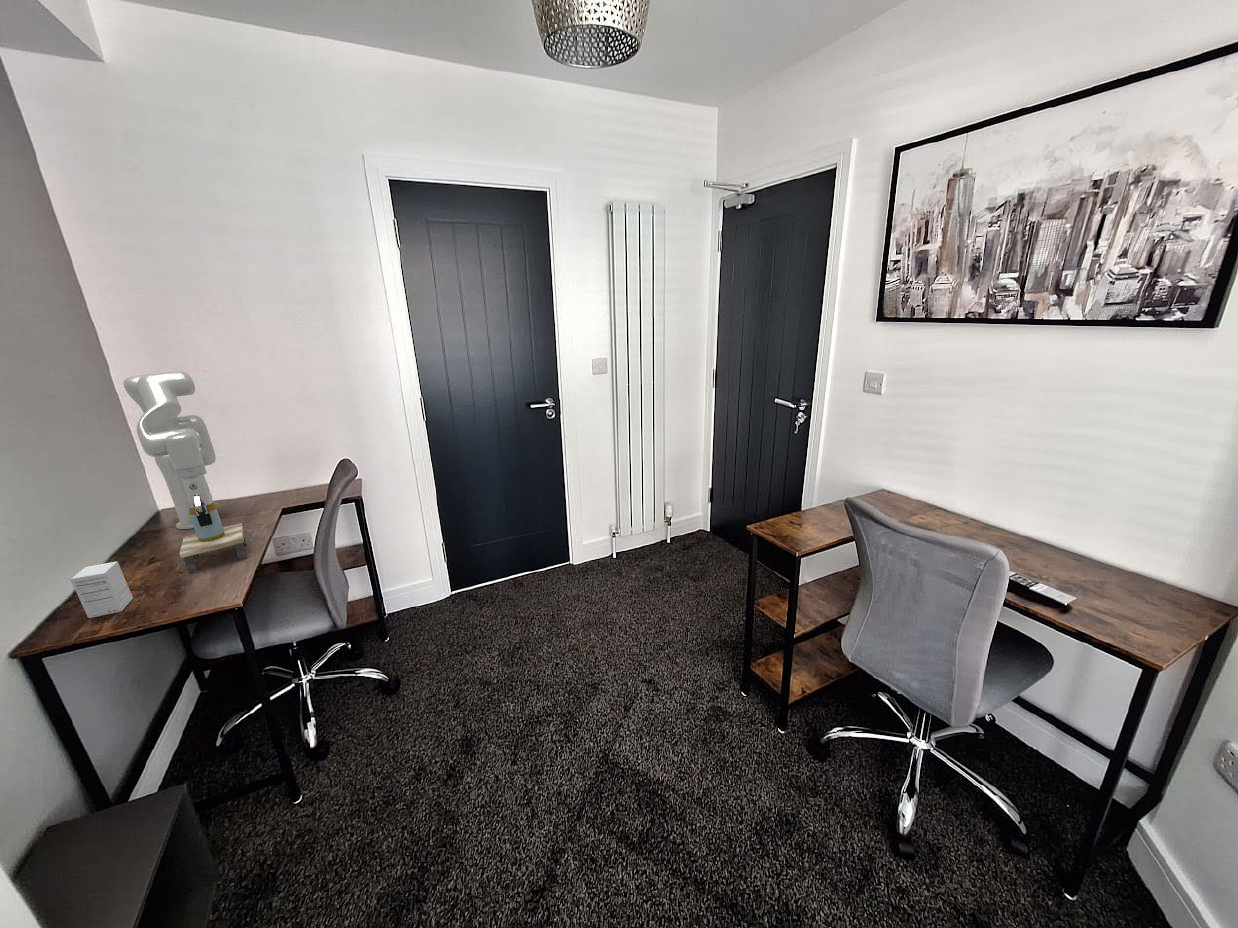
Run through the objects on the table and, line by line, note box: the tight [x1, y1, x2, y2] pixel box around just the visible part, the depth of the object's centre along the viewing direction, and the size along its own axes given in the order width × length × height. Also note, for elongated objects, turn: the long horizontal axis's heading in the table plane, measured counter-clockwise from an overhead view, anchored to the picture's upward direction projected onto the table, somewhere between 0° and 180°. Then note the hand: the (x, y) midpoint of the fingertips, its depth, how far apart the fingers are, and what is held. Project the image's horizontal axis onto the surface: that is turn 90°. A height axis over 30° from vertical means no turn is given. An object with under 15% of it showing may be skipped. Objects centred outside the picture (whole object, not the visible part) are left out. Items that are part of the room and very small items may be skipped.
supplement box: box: [70, 561, 134, 619], centre depth 136 cm, size 7×7×13 cm
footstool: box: [179, 522, 247, 574], centre depth 164 cm, size 16×16×8 cm
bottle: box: [186, 493, 225, 541], centre depth 161 cm, size 7×7×15 cm
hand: (207, 520), depth 161 cm, fingers open, 7 cm apart
